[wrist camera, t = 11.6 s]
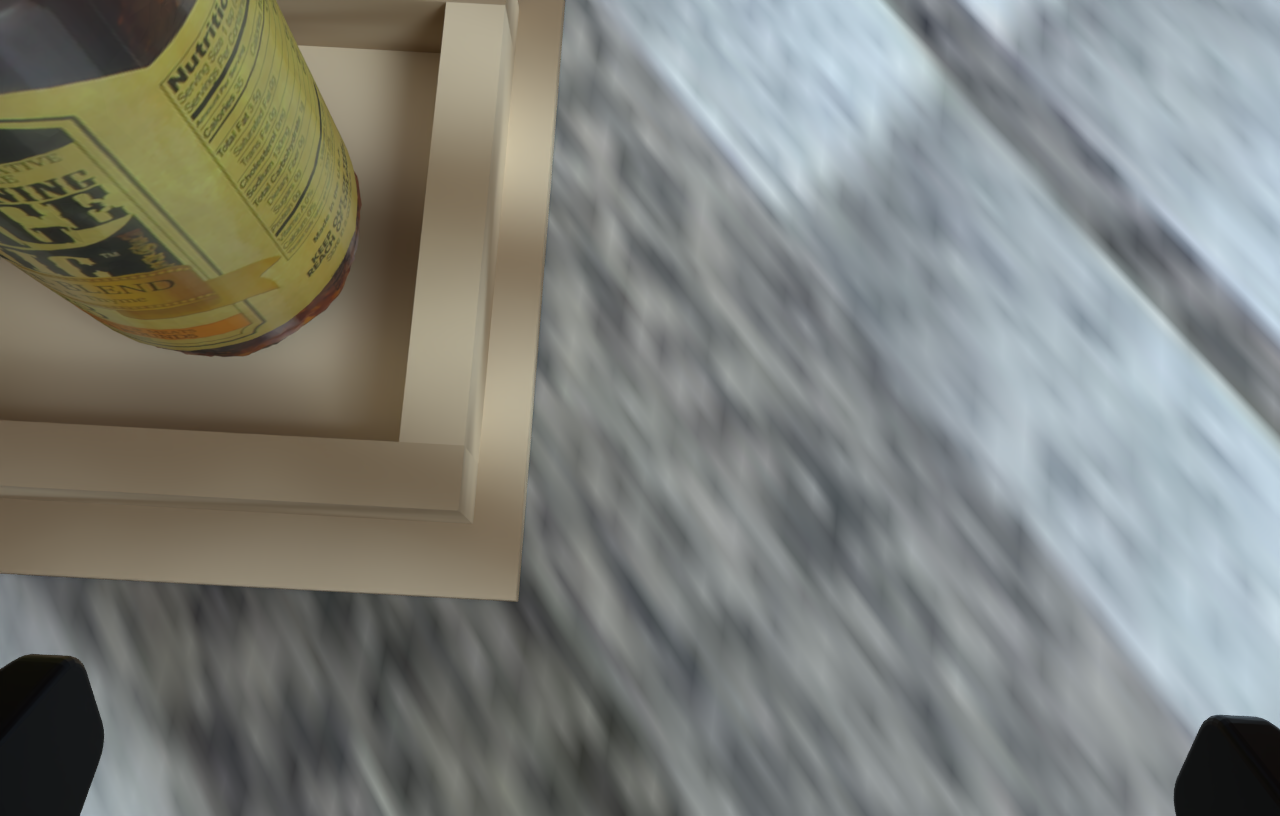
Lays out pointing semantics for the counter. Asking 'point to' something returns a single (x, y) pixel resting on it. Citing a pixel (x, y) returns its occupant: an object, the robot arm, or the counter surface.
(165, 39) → the sauce bottle
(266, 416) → the wooden tray
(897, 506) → the counter surface
